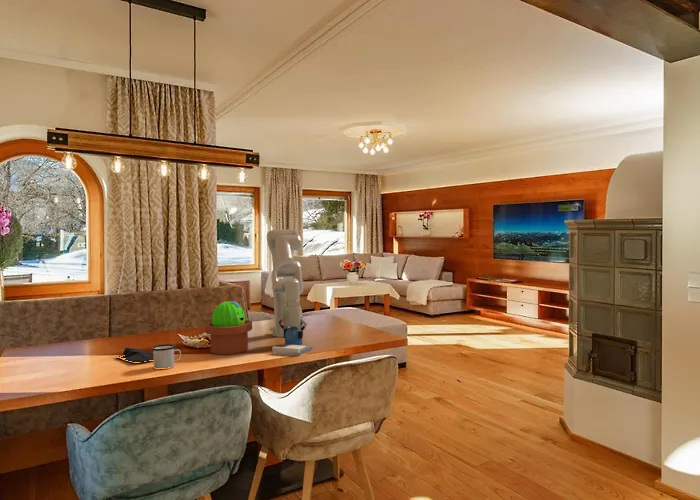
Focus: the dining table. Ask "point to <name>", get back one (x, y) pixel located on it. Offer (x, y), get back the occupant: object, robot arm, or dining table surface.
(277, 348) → the grey square slab
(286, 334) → the perfume bottle
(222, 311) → the potted cactus
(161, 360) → the mug
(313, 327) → the dining table surface
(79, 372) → the dining table surface
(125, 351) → the black folded cloth
